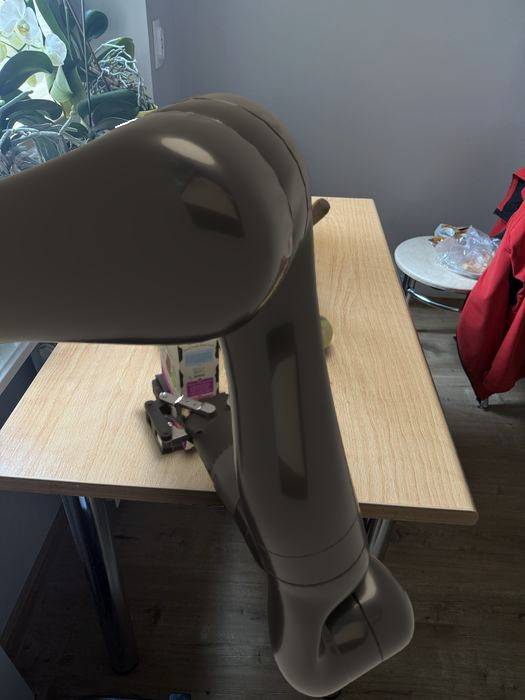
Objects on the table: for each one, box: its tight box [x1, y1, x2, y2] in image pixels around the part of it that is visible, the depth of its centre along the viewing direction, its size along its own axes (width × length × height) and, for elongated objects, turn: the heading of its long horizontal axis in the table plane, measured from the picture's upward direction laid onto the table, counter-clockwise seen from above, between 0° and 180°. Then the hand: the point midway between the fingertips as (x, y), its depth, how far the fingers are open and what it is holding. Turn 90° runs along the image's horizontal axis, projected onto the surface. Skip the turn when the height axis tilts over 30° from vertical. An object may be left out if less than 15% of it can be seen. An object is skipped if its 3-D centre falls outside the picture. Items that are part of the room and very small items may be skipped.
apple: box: [320, 314, 334, 350], centre depth 85 cm, size 6×8×6 cm
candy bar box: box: [159, 338, 220, 451], centre depth 66 cm, size 11×5×16 cm, turn 23°
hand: (193, 370), depth 63 cm, fingers open, 8 cm apart
